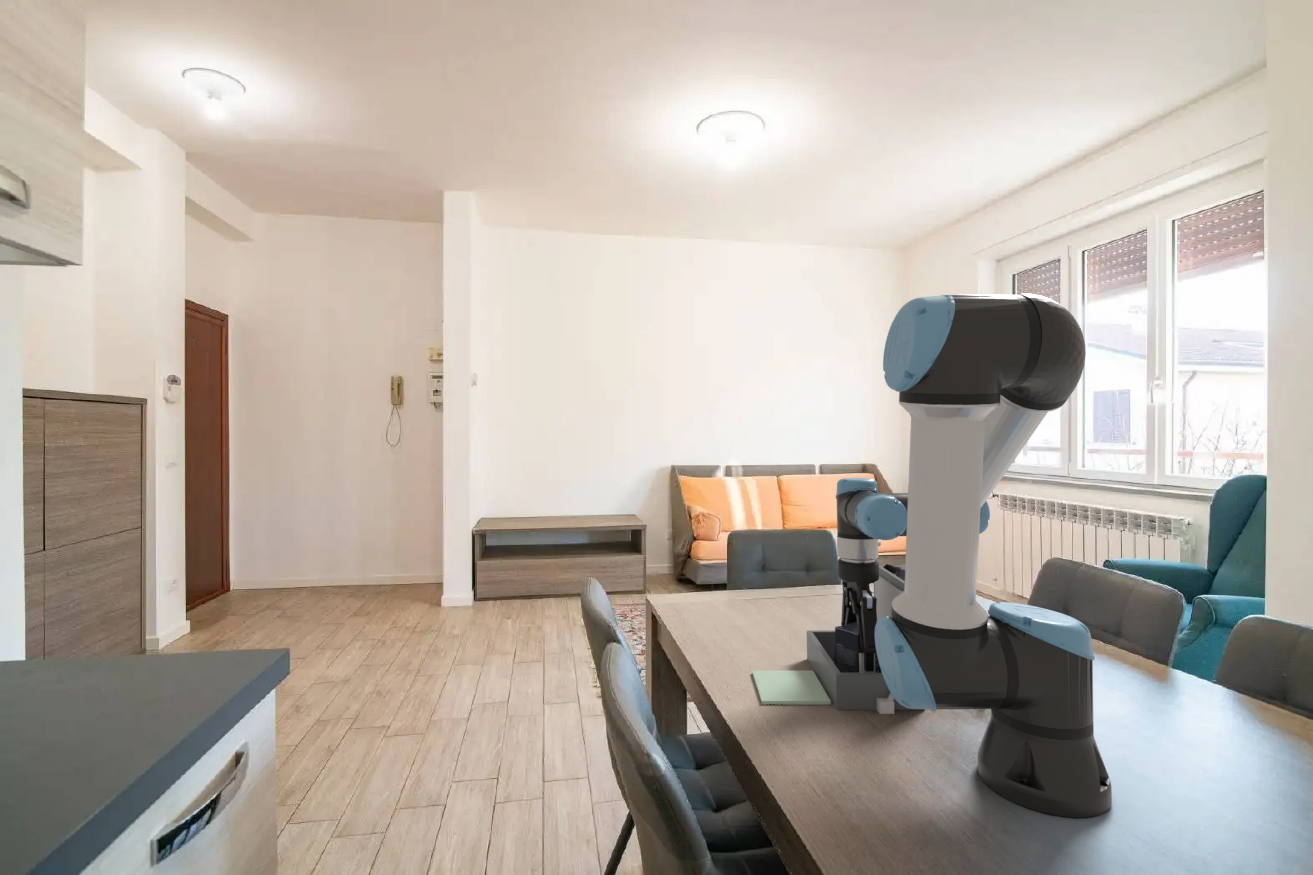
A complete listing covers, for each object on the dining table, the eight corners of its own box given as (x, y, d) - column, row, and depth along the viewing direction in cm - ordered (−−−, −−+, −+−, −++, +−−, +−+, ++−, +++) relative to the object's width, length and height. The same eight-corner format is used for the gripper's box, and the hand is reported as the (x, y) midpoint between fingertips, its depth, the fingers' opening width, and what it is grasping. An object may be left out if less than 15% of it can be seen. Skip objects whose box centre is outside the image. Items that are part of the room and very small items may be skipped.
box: (858, 691, 111) (857, 634, 111) (834, 681, 116) (833, 626, 116) (885, 681, 115) (884, 626, 115) (861, 672, 120) (860, 619, 120)
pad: (830, 704, 106) (830, 701, 106) (762, 704, 106) (762, 700, 106) (813, 673, 120) (813, 670, 120) (752, 673, 120) (752, 670, 120)
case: (934, 714, 102) (932, 595, 102) (839, 713, 102) (837, 595, 102) (882, 658, 127) (881, 563, 127) (807, 658, 128) (805, 564, 128)
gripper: (898, 571, 105) (900, 701, 105) (860, 548, 126) (862, 656, 126) (854, 571, 105) (856, 701, 105) (824, 548, 126) (826, 656, 126)
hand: (859, 676), depth 116 cm, fingers closed on box, 9 cm apart
